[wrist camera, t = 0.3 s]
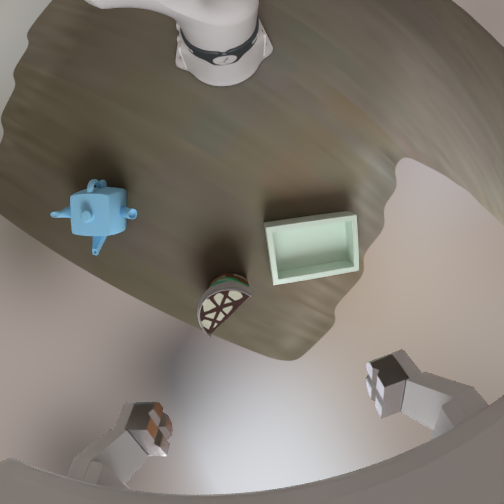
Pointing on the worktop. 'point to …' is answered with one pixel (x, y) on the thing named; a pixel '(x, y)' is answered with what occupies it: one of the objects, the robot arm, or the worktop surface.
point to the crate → (312, 246)
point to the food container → (222, 300)
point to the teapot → (98, 212)
